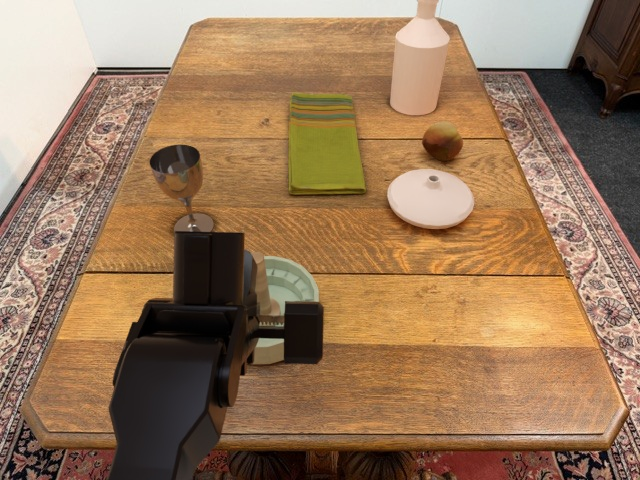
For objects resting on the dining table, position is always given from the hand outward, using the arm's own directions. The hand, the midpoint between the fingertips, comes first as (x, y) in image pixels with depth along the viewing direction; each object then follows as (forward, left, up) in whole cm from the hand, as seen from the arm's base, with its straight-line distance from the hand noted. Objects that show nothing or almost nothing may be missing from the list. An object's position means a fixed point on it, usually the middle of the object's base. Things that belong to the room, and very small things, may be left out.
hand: (248, 317), depth 58 cm
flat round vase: (+40, -18, -12) cm, 45 cm away
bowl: (+8, +2, -11) cm, 14 cm away
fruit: (+57, -18, -12) cm, 61 cm away
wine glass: (+23, +22, -12) cm, 34 cm away
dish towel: (+55, +7, -12) cm, 56 cm away
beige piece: (+8, +2, -11) cm, 14 cm away
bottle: (+78, -9, -12) cm, 79 cm away
